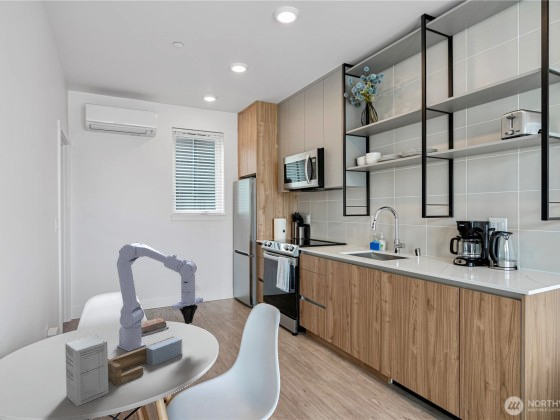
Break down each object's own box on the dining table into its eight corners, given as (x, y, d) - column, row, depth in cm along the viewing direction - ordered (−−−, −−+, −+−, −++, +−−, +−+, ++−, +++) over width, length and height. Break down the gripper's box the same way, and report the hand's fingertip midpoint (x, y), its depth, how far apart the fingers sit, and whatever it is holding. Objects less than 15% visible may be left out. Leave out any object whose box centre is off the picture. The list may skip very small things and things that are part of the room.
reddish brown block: (159, 315, 172) (168, 319, 165) (159, 325, 172) (168, 329, 165) (122, 324, 159) (131, 329, 152) (123, 334, 159) (132, 340, 152)
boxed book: (146, 362, 129) (146, 347, 129) (175, 351, 139) (175, 336, 139) (152, 366, 126) (152, 350, 126) (182, 354, 136) (182, 339, 136)
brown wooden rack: (101, 376, 118) (101, 359, 118) (173, 348, 142) (173, 333, 142) (116, 385, 112) (116, 367, 112) (188, 354, 136) (188, 339, 136)
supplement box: (97, 384, 113) (96, 334, 113) (109, 393, 107) (108, 340, 107) (65, 396, 106) (64, 342, 105) (76, 407, 100) (75, 350, 100)
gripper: (179, 296, 134) (180, 330, 134) (207, 288, 145) (208, 320, 145) (169, 293, 138) (169, 326, 138) (197, 286, 150) (197, 317, 150)
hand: (188, 323), depth 142 cm, fingers closed
